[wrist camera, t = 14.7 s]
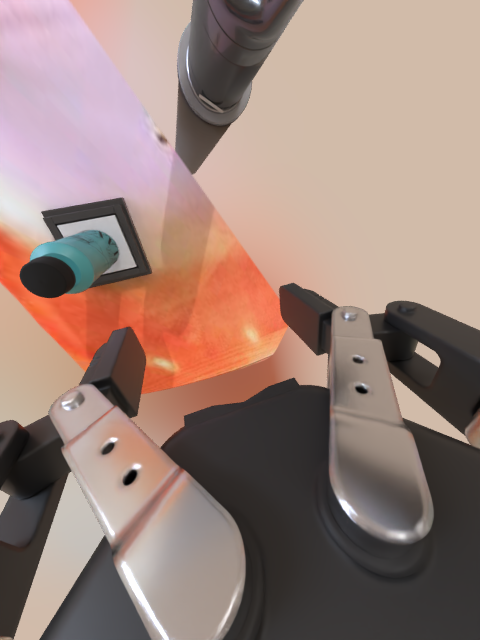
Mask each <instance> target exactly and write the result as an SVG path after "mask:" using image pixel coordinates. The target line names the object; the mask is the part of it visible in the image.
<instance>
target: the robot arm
mask: <svg viewBox="0 0 480 640" xmlns="http://www.w3.org/2000/svg"><path fill="white" fill-rule="evenodd" d="M302 2H303V0H193V6H192V15H191V25H190V37H189V46H188V50H187V59H186V68H187V76H188V80H189V83H190V86H191V89H192V91H193V93H194V95H195V97H196V98H197V100H198V101H199V102H200V103H201V104H202V105H203V106H204V107H205V108H206V109H208V110H209V111H211V112H214V113H218V114H223V113H227V112H229V111H231V110H232V109H234V108H235V107H236V106H237V104H238V103H239V101H240V100H241V98H242V96H243V94H244V92H245V91H246V89H247V88H248V86H249V85H250V83H251V81H252V80H253V78H254V77H255V75H256V74H257V72H258V70H259V69H260V67H261V66H262V64H263V63H264V61H265V59H266V58H267V57H268V55H269V53H270V52H271V50H272V49H273V47H274V45H275V44H276V42H277V41H278V39H279V38H280V36H281V35H282V33H283V31H284V30H285V28H286V27H287V25H288V23H289V22H290V20H291V19H292V17H293V16H294V14H295V12H296V11H297V9H298V8H299V6H300V5H301V3H302ZM279 293H280V310H281V316H282V318H283V320H284V322H285V323H286V324H287V325H288V326H289V327H290V328H291V329H292V330H293V331H294V332H295V333H296V334H297V335H298V336H299V337H300V338H301V339H302V340H303V341H304V342H305V343H306V344H307V345H308V347H309V348H310V349H311V350H312V351H313V352H314V353H315V354H316V355H321V354H324V353H327V354H328V369H327V388H325V387H320V386H314V385H299V384H298V383H297V381H296V380H295V378H292V379H289V380H286V381H283V382H280V383H277V384H275V385H271V386H269V387H267V388H265V389H264V390H263V391H261V392H259V393H258V394H256V395H254V396H253V397H251V398H250V399H248V400H246V401H245V402H241V403H233V404H225V405H216V406H211V407H209V408H205V409H203V410H200V411H197V412H194V413H191V414H188V415H185V416H184V421H185V426H184V427H182V428H181V429H180V430H179V431H177V432H176V433H174V434H173V435H172V436H171V437H170V438H169V439H168V440H167V441H166V442H165V443H164V444H163V445H162V446H161V448H159V447H158V446H157V445H156V444H155V443H154V442H153V441H152V440H151V439H150V438H149V437H148V436H147V435H146V434H145V433H144V432H143V431H142V430H141V429H140V428H139V427H138V426H137V425H136V424H135V423H134V422H133V421H132V420H131V419H130V418H132V417H135V416H137V414H138V408H139V402H140V395H141V390H142V384H143V378H144V372H145V366H146V356H145V353H144V350H143V348H142V346H141V344H140V343H139V341H138V339H137V337H136V335H135V333H134V331H133V329H132V328H131V327H126V328H122V329H119V330H115V331H113V332H112V334H111V336H110V338H109V340H108V342H107V343H104V344H103V345H102V346H101V347H100V348H99V349H98V350H97V351H96V353H95V355H94V357H93V360H92V361H91V363H90V365H89V367H88V369H87V371H86V372H85V374H84V376H83V378H82V380H81V382H80V384H79V386H77V387H74V388H72V389H70V390H68V391H67V392H65V393H64V394H62V395H61V396H60V397H59V398H58V399H57V400H56V401H55V402H54V403H53V404H52V405H51V407H50V409H49V413H48V414H49V415H47V416H45V417H43V418H41V419H39V420H37V421H35V422H34V423H32V424H30V425H28V426H26V427H22V426H21V425H20V424H19V423H18V422H16V421H14V420H9V421H5V422H2V423H0V490H1V491H3V492H5V493H7V494H9V495H10V497H9V499H8V501H7V503H6V505H5V507H4V509H3V511H2V513H1V515H0V640H13V639H14V636H15V633H16V630H17V627H18V624H19V621H20V618H21V615H22V612H23V609H24V606H25V603H26V600H27V597H28V594H29V591H30V588H31V585H32V582H33V579H34V576H35V573H36V570H37V567H38V564H39V561H40V558H41V555H42V552H43V549H44V546H45V543H46V539H47V537H48V534H49V531H50V528H51V524H52V522H53V519H54V516H55V513H56V510H57V507H58V504H59V501H60V498H61V495H62V492H63V489H64V486H65V483H66V480H67V477H68V474H69V473H70V472H71V471H72V472H73V474H74V476H75V478H76V480H77V482H78V484H79V486H80V488H81V489H82V492H83V493H84V495H85V497H86V499H87V501H88V503H89V505H90V507H91V508H92V511H93V512H94V514H95V516H96V518H97V520H98V522H99V524H100V526H101V528H102V529H103V532H104V533H105V536H104V537H103V539H102V540H101V542H100V543H99V545H98V547H97V548H96V550H95V551H94V553H93V555H92V556H91V558H90V560H89V561H88V563H87V564H86V566H85V568H84V569H83V571H82V572H81V574H80V576H79V577H78V579H77V580H76V582H75V584H74V585H73V587H72V588H71V590H70V592H69V594H68V595H67V596H66V598H65V599H64V601H63V603H62V604H61V606H60V607H59V609H58V611H57V612H56V614H55V615H54V617H53V619H52V620H51V622H50V624H49V625H48V627H47V628H46V630H45V631H44V633H43V635H42V636H41V638H40V640H480V330H478V329H475V328H473V327H470V326H468V325H466V324H464V323H462V322H459V321H457V320H455V319H453V318H450V317H448V316H446V315H443V314H441V313H439V312H437V311H434V310H432V309H430V308H428V307H425V306H423V305H421V304H418V303H414V302H409V301H394V302H391V303H389V304H388V305H387V306H386V310H385V313H383V314H372V315H368V313H367V312H366V311H365V310H363V309H361V308H357V307H352V306H343V307H338V306H336V305H335V304H333V303H332V302H330V301H328V300H327V299H324V298H323V297H322V296H319V295H318V294H317V293H315V292H314V291H311V290H307V289H303V288H301V287H300V286H298V285H296V284H295V283H291V284H288V285H284V286H281V287H280V289H279ZM418 341H419V342H420V343H422V344H424V345H426V346H427V347H429V348H430V349H432V350H434V351H435V352H436V353H437V354H438V356H439V357H440V360H441V363H440V366H439V368H438V367H437V366H435V365H434V364H432V363H431V362H429V361H427V360H426V359H424V358H423V357H422V356H420V355H418V354H417V353H416V352H415V349H416V346H417V343H418ZM390 373H391V374H392V375H394V376H395V377H396V378H397V379H398V380H400V381H401V382H402V383H403V384H404V385H405V386H407V387H408V388H409V389H410V390H412V391H413V392H414V393H415V394H416V395H417V396H419V397H420V398H421V399H422V400H423V401H424V402H426V403H427V404H428V405H429V406H430V407H432V408H433V409H434V410H435V411H436V412H437V413H439V414H440V415H441V416H442V417H443V418H445V419H446V420H447V421H448V422H449V423H451V424H452V425H453V426H454V427H455V428H457V429H458V430H459V431H460V432H461V433H462V434H464V435H465V436H466V438H467V440H468V442H469V443H470V445H469V444H467V443H464V442H462V441H459V440H457V439H454V438H452V437H449V436H447V435H444V434H442V433H439V432H437V431H434V430H431V429H429V428H427V427H424V426H422V425H419V424H417V423H414V422H412V421H409V420H407V419H404V418H402V416H401V412H400V409H399V405H398V401H397V397H396V394H395V390H394V386H393V382H392V379H391V376H390Z"/></svg>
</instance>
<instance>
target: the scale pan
mask: <svg viewBox="0 0 480 640" xmlns="http://www.w3.org/2000/svg"><path fill="white" fill-rule="evenodd" d="M57 227H58V228H59V230H60V232H61V234H62V235H63V237H64V238H65V237H68V236H72V235H75V234H78V233H82V232H81V231H83V232H85V230H87V231H88V230H92V229H93V230H98V231H102V232H104V233H106V234H107V235H109V236H110V237H111V238H112V239H113V240H114V241H115V242H116V244H117V246H118V247H119V248H118V249H119V252H120V253H119V254H120V255H119V256H118V257H119V258H118V259H117V262H115V263H114V264H113V265H112V266H111V268H110V269H107V270H106V271H105V272H104V273H103V274H106V273H111V272H115V271H120V270H124V269H129V268H133V267H136V266H137V263H136V260H135V258H134V255H133V253H132V251H131V248H130V246H129V244H128V241H127V239H126V236H125V234H124V232H123V229H122V227H121V225H120V222H119V220H118V217H117V215H113V216H107V217H102V218H96V219H91V220H86V221H80V222H75V223H69V224H64V225H58V226H57ZM77 232H78V233H77Z"/></svg>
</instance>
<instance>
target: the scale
mask: <svg viewBox="0 0 480 640" xmlns="http://www.w3.org/2000/svg"><path fill="white" fill-rule="evenodd" d="M41 213H42V214H43V216H44V218H43V219H44V221H45V223H46V225H47V226H48V228H49V230H50V231H51V233H52V235H53V236H54V238H55V240H59V239H62V238H64V237H63V235H62V234H61V232H60V230H59V228H58V227H57V226H58V225H64V224H69V223H75V222H80V221H86V220H91V219H96V218H102V217H107V216H113V215H117V217H118V220H119V222H120V225H121V227H122V229H123V232H124V234H125V236H126V239H127V241H128V244H129V246H130V248H131V251H132V253H133V255H134V258H135V260H136V263H137V266H136V267H133V268H129V269H124V270H120V271H115V272H111V273H106V274H104V275H103V274H102V275H101V276H100V277H99V278H98V279H96V280H95V281H94V282H93V283H92V285H91V286H90V287H89V288H92V287H96V286H100V285H105V284H109V283H113V282H117V281H122V280H126V279H130V278H135V277H139V276H143V275H147V274H151V273H152V270H151V268H150V265H149V262H148V260H147V257H146V255H145V252H144V250H143V247H142V244H141V242H140V239H139V237H138V234H137V232H136V229H135V226H134V224H133V221H132V219H131V216H130V214H129V211H128V209H127V206H126V203H125V201H124V198H117V199H111V200H105V201H99V202H94V203H88V204H82V205H76V206H70V207H65V208H59V209H53V210H47V211H42V212H41Z"/></svg>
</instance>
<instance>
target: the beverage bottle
mask: <svg viewBox="0 0 480 640" xmlns="http://www.w3.org/2000/svg"><path fill="white" fill-rule="evenodd" d="M81 232H82V233H78V232H77V233H78V234H75V235H72V236H68V237H65V238H62V239H59V240H56V241H53V242H47V243H44V244H41V245H39V246H38V247H36V248H35V249H34V250H33V252H32V254H31V256H30V262H29V263H27V264H25V265H24V266H23V267H22V269H21V271H20V279H21V282H22V284H23V285H24V286H25V287H26V288H27V289H28V290H29V291H30V292H32V293H33V294H35V295H37V296H40V297H45V298H55V297H59V296H61V295H63V294H76V293H80V292H83V291H85V290H87V289H88V288H89V287H90V286H91V285H92V283H93V282H94V281H95V280H96V279H98V278H99V277H100V276H101V275H102V274H103V273H104V272H105V271H106V270H107V269H110V268H111V266H112V265H113V264H114V263H115V262H117V259H118V258H119V257H118V256H119V255H120V254H119V253H120V252H119V249H118V248H119V247H118V246H117V244H116V242H115V241H114V240H113V239H112V238H111V237H110V236H109V235H107V234H106V233H104V232H102V231H98V230H93V229H92V230H88V231H87V230H85V232H83V231H81ZM103 275H104V274H103Z"/></svg>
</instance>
